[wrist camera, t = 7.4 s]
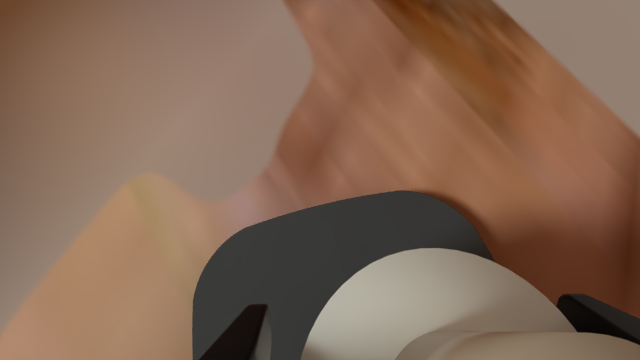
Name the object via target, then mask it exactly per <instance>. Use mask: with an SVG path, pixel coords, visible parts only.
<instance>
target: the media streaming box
mask: <svg viewBox="0 0 640 360" xmlns="http://www.w3.org/2000/svg"><path fill="white" fill-rule="evenodd" d="M420 248H442V249H451V250H458V251H462V252H466V253H470V254H474V255H477V256H480V257H482V258H485V259H488V260H490V261H493V262H495V261H494V259H493V258H492V256H491V254H490V252H489V251H488V249H487V247H486V246H485V244H484V242H483V241H482V239H481V238H480V236H479V234H478V233H477V231H476V230H475V228H474V227H473V226H472V225H471V223H470V222H469V221H468V220H467V219H466V218H465V217H464V216H462V215H461V214H460V213H459V212H458V211H456V210H455V209H454V208H452V207H451V206H449V205H448V204H446V203H444V202H442V201H441V200H438V199H436V198H434V197H431V196H429V195H426V194H422V193H418V192H413V191H403V190H401V191H393V192H386V193H379V194H372V195H366V196H361V197H355V198H350V199H345V200H340V201H336V202H331V203H327V204H323V205H319V206H315V207H311V208H307V209H303V210H300V211H296V212H293V213H289V214H286V215H282V216H279V217H276V218H273V219H270V220H267V221H264V222H261V223H258V224H255V225H252V226H249V227H246V228H244V229H242V230H241V231H239V232H237V233H236V234H234V235H233V236H232V237H230V238H229V239H228V240H227V241H225V242H224V243H223V244H222V245H221V246H220V247H219V248H218V249H217V251H216V252H215V253H214V254H213V256H212V257H211V258H210V260H209V261H208V263H207V264H206V266H205V268H204V270H203V272H202V274H201V276H200V278H199V281H198V283H197V287H196V290H195V294H194V299H193V328H192V336H193V360H198V359H199V358H200V357H201V356H202V355H203V353H204V352H205V351H206V350H207V349H208V348H209V347H210V346H211V345H212V344H213V342H214V341H215V340H216V339H217V338H218V337H219V336H220V335H221V334H222V333H223V331H224V330H225V329H226V328H227V327H228V326H229V325H230V324H231V323H232V322H233V320H234V319H235V318H236V317H237V316H238V315H239V314H240V313H241V312H242V311H243V309H244V308H245V307H246V306H247V305H249V304H267V305H268V307H269V315H270V325H271V354H270V360H301V355H302V352H303V350H304V347H305V344H306V341H307V339H308V336H309V333H310V331H311V329H312V328H313V326H314V324H315V322H316V320H317V318H318V316H319V314H320V313H321V311H322V310H323V308H324V307H325V305H326V304H327V302H328V301H329V300H330V298H331V297H332V296H333V295H334V294H335V293H336V291H337V290H338V289H339V288H340V287H341V286H342V285H343V284H344V283H345V282H346V281H347V280H349V279H350V278H351V277H352V276H353V275H354V274H356V273H357V272H358V271H360V270H362V269H363V268H365V267H366V266H368V265H369V264H371V263H373V262H375V261H377V260H379V259H382V258H384V257H386V256H389V255H392V254H395V253H399V252H402V251H407V250H414V249H420Z"/></svg>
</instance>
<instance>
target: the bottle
mask: <svg viewBox="0 0 640 360" xmlns="http://www.w3.org/2000/svg"><path fill="white" fill-rule="evenodd" d="M301 360H640V345H638V344H635V343H633V342H630V341H628V340H625V339H621V338H617V337H613V336H609V335H603V334H595V333H577V331H576V330H575V328H574V327H573V326H572V325H571V323H570V322H569V321H568V320H567V319H566V317H565V316H564V315H563V314H562V313H561V311H560V310H559V309H558V308H557V307H556V306H555V305H554V304H553V303H552V302H551V301H550V300H549V299H548V298H547V297H546V296H544V295H543V294H542V293H541V292H540V291H538V290H537V289H536V288H535V287H534V286H532V285H531V284H530V283H529V282H527V281H526V280H524V279H523V278H521V277H520V276H518V275H517V274H515V273H514V272H512V271H510V270H509V269H507V268H505V267H503V266H501V265H499V264H497V263H495V262H493V261H490V260H488V259H485V258H482V257H480V256H477V255H474V254H470V253H466V252H462V251H458V250H451V249H442V248H420V249H414V250H407V251H402V252H399V253H395V254H392V255H389V256H386V257H384V258H382V259H379V260H377V261H375V262H373V263H371V264H369V265H368V266H366V267H365V268H363V269H362V270H360V271H358V272H357V273H356V274H354V275H353V276H352V277H351V278H350V279H349V280H347V281H346V282H345V283H344V284H343V285H342V286H341V287H340V288H339V289H338V290H337V291H336V293H335V294H334V295H333V296H332V297H331V298H330V300H329V301H328V302H327V304H326V305H325V307H324V308H323V310H322V311H321V313H320V314H319V316H318V318H317V320H316V322H315V324H314V326H313V328H312V329H311V331H310V333H309V336H308V339H307V341H306V344H305V347H304V350H303V352H302V355H301Z"/></svg>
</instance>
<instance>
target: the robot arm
mask: <svg viewBox="0 0 640 360" xmlns="http://www.w3.org/2000/svg"><path fill="white" fill-rule="evenodd" d="M556 307H557V308H558V309H559V310H560V311H561V313H562V314H563V315H564V316H565V317H566V319H567V320H568V321H569V322H570V323H571V325H572V326H573V327H574V328H575V330H576V331H577V333H595V334H603V335H609V336H613V337H617V338H621V339H625V340H628V341H630V342H633V343H635V344H638V345H640V319H639V318H636V317H634V316H632V315H630V314H628V313H625V312H623V311H621V310H619V309H616V308H614V307H612V306H610V305H607V304H605V303H603V302H601V301H599V300H596V299H594V298H592V297H590V296H587V295H585V294H564V295H562V296H561V297H560V298H559V300H558V303H557V306H556ZM270 354H271V325H270V315H269V307H268V305H267V304H249V305H247V306H246V307H245V308H244V309H243V311H242V312H241V313H240V314H239V315H238V316H237V317H236V318H235V319H234V320H233V322H232V323H231V324H230V325H229V326H228V327H227V328H226V329H225V330H224V331H223V333H222V334H221V335H220V336H219V337H218V338H217V339H216V340H215V341H214V342H213V344H212V345H211V346H210V347H209V348H208V349H207V350H206V351H205V352H204V353H203V355H202V356H201V357H200V358H199V359H198V360H270Z"/></svg>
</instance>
